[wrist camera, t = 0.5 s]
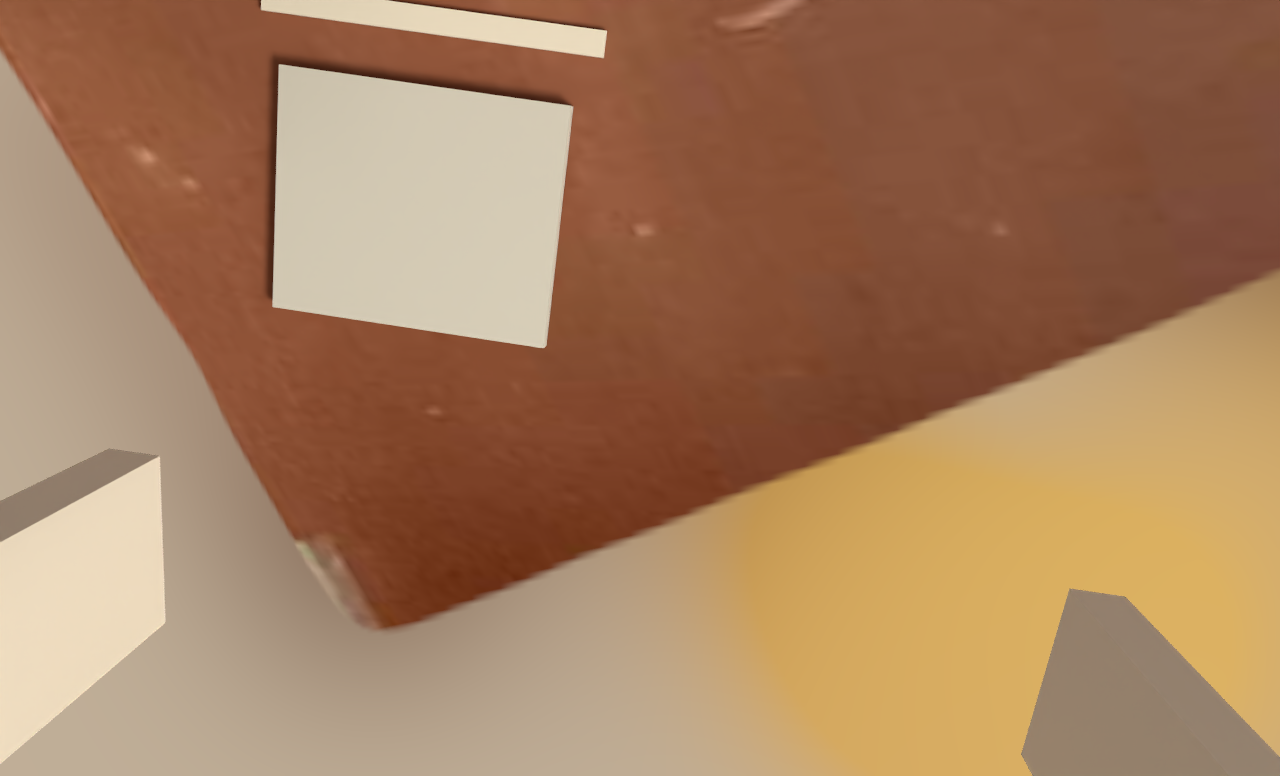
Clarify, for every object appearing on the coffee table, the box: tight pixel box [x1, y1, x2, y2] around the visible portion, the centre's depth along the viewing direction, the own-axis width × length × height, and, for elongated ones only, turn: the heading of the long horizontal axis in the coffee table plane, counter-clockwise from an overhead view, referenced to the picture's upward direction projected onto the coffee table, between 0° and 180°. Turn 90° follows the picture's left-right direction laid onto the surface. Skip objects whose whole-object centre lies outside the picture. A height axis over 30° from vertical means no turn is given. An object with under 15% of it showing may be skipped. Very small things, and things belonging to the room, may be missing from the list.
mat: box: [273, 64, 573, 348], centre depth 35 cm, size 10×12×1 cm
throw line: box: [261, 0, 607, 58], centre depth 34 cm, size 1×14×1 cm, turn 82°
